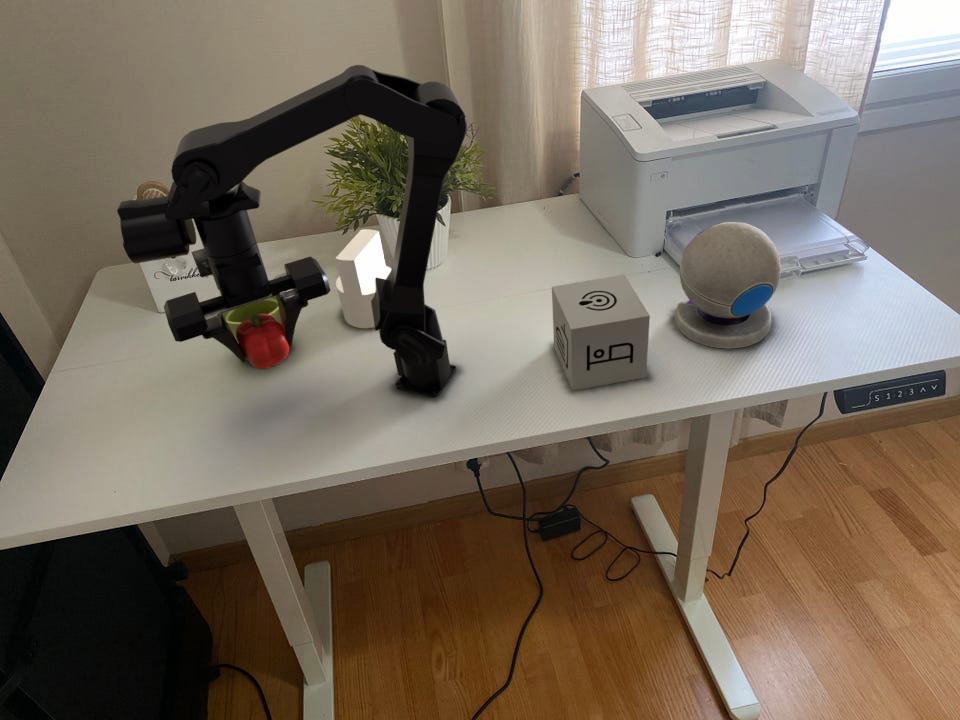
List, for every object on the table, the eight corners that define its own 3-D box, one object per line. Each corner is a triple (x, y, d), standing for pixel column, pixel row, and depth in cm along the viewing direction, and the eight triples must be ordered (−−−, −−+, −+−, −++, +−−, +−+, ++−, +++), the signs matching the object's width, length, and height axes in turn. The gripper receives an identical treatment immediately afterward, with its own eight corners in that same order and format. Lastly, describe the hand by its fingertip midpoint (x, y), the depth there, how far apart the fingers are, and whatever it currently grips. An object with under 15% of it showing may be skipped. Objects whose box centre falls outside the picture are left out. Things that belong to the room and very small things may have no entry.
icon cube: (572, 390, 96) (571, 329, 90) (554, 345, 104) (551, 286, 98) (645, 377, 97) (649, 315, 91) (622, 333, 105) (624, 274, 99)
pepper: (297, 344, 96) (285, 302, 92) (284, 373, 91) (270, 330, 87) (253, 345, 97) (239, 303, 93) (238, 374, 92) (222, 331, 88)
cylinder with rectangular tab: (386, 331, 111) (372, 263, 103) (334, 324, 113) (316, 257, 106) (409, 298, 117) (397, 231, 110) (359, 292, 120) (344, 227, 113)
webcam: (736, 288, 111) (750, 197, 102) (790, 334, 101) (810, 238, 92) (659, 309, 109) (666, 218, 99) (706, 359, 99) (718, 263, 90)
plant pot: (240, 379, 105) (222, 330, 99) (230, 345, 112) (212, 297, 106) (304, 358, 107) (289, 310, 102) (291, 326, 114) (276, 279, 109)
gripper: (291, 197, 92) (319, 300, 102) (138, 239, 87) (183, 344, 96) (316, 232, 84) (344, 340, 94) (149, 282, 79) (197, 392, 88)
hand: (267, 352), depth 93 cm, fingers closed on pepper, 5 cm apart
